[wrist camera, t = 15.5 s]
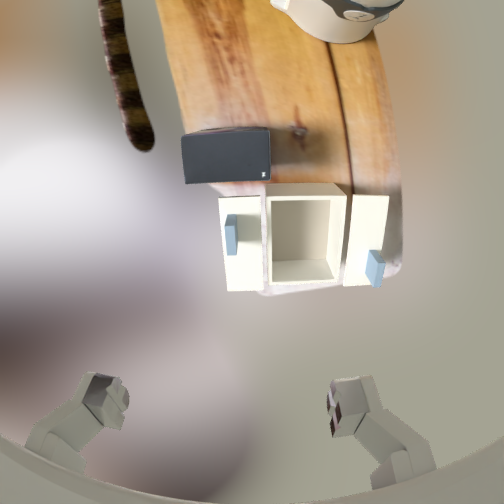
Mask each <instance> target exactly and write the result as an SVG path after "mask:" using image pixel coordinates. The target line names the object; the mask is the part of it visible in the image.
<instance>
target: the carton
mask: <svg viewBox="0 0 504 504" xmlns="http://www.w3.org/2000/svg"><path fill="white" fill-rule="evenodd" d="M346 200H347V196H346V194H345V193H344V192H343V191H342V190H341V189H340V188H339V187H337V186H336V185H335V184H334V183H271V184H265V209H266V247H267V273H268V285H290V284H312V283H332V282H338V278H339V270H340V262H341V254H342V245H343V235H344V225H345V213H346Z"/></svg>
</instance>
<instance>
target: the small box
mask: <svg viewBox="0 0 504 504" xmlns="http://www.w3.org/2000/svg"><path fill="white" fill-rule="evenodd" d="M181 148H182V159H183V169H184V179H185V184H197V183H215V182H236V181H269V180H271V157H270V131H269V130H268V129H267V128H265V127H229V128H216V129H207V130H201V131H197V132H193V133H190V134H187V135H184V136H181Z"/></svg>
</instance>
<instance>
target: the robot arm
mask: <svg viewBox="0 0 504 504" xmlns="http://www.w3.org/2000/svg"><path fill="white" fill-rule="evenodd" d="M403 1H404V0H270V3H271V5H272V6H273V7H275V8H277V9H278V10H280V11H282V12H284V13H286V14H288V15H289V16H290V17H291V18H292V19H293V21H294V22H295V23H296V24H297V25H298V26H299V27H300V28H301V29H303V30H304V31H305V32H307V33H308V34H310V35H312V36H314V37H316V38H318V39H321V40H324V41H327V42H332V43H352V42H356V41H358V40H361V39H363V38H364V37H366V36H367V35H368V34H369V33H370V32H371V30H372V29H373V28H374V26H375V25H376V24H378V23H381V22H383V21H385V20H386V19H387V18H388V17H389V12H390V11H392V10H394V9H396V8H398V6H399V5H400V4H402V2H403ZM121 383H122V381H121V379H120V378H119V377H117V376H111V375H105V374H100V373H95V372H89V371H87V372H86V373H85V374H84V375H83V377H82V379H81V381H80V383H79V385H78V387H77V389H76V392H75V394H74V396H73V398H72V400H68V401H66V402H65V403H63V404H62V405H61V406H59V407H58V408H56V409H55V410H54V411H52V412H51V413H49V414H48V415H47V416H45V417H44V418H43V419H41V420H40V421H38V422H37V423H36V424H34V426H33V428H32V430H31V433H30V435H29V437H28V439H27V442H26V444H25V447H23V446H21V445H19V444H18V443H16V442H14V441H13V440H11V439H9V438H7V437H6V436H4V435H3V434H1V433H0V504H216V503H204V502H196V501H188V500H180V499H174V498H168V497H163V496H157V495H153V494H148V493H144V492H140V491H135V490H131V489H128V488H124V487H120V486H117V485H114V484H110V483H107V482H104V481H101V480H98V479H95V478H92V477H89V476H86V475H84V474H83V473H84V469H85V466H86V459H85V458H83V457H82V456H81V455H80V454H79V453H78V452H79V451H80V450H81V449H82V448H83V447H84V446H85V445H86V444H88V442H90V441H91V440H92V439H93V438H94V437H95V436H96V435H97V434H98V433H99V432H100V430H102V429H103V428H104V427H109V428H113V429H118V430H121V427H122V424H123V421H124V414H123V412H124V411H125V410H126V409H127V408H128V405H129V393H128V391H127V389H126V388H125V387H124V386H122V385H121ZM330 388H331V390H330V391H329V392H328V395H327V410H328V414H329V415H330V416H331V417H332V419H331V422H330V428H331V433H332V437H333V438H334V437H342V436H349V435H354V437H355V438H356V439H357V440H358V441H359V442H360V443H361V444H362V446H363V447H364V448H365V449H366V450H367V451H368V452H369V453H370V454H371V455H372V456H373V457H374V458H375V459H376V460H377V461H378V462H379V463H380V464H381V465H380V466H379V467H378V468H377V469H376V470H375V471H374V472H373V473H372V474H371V475H370V479H371V484H372V491H368V492H363V493H359V494H355V495H349V496H345V497H339V498H333V499H327V500H319V501H311V502H302V503H291V504H504V436H502V437H500V438H498V439H496V440H494V441H493V442H491V443H489V444H487V445H486V446H484V447H482V448H480V449H479V450H477V451H475V452H473V453H471V454H469V455H467V456H465V457H463V458H461V459H459V460H457V461H454V462H452V463H450V464H448V465H446V466H443V467H441V468H438V469H437V468H436V465H435V461H434V458H433V455H432V452H431V449H430V446H429V443H428V441H427V440H426V439H425V438H423V437H422V436H421V435H420V434H418V433H417V432H416V431H414V430H413V429H412V428H411V427H409V426H408V425H407V424H405V423H404V422H403V421H401V420H400V419H399V418H398V417H397V416H395V415H394V414H393V413H392V412H390V411H389V410H388V409H383V406H382V403H381V400H380V397H379V394H378V391H377V388H376V385H375V383H374V379H373V377H372V376H371V375H366V376H360V377H351V378H344V379H337V380H332V381H331V384H330ZM103 426H104V427H103Z"/></svg>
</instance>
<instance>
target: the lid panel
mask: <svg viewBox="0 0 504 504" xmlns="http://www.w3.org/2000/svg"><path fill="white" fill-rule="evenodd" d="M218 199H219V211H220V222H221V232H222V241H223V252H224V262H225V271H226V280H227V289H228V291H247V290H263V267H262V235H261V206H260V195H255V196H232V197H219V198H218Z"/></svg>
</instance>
